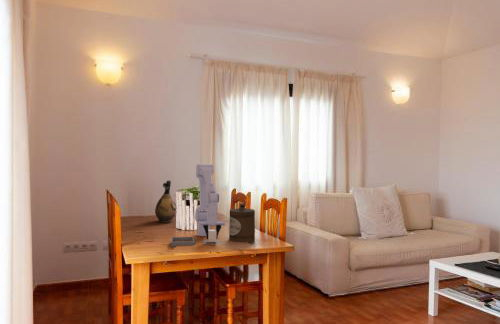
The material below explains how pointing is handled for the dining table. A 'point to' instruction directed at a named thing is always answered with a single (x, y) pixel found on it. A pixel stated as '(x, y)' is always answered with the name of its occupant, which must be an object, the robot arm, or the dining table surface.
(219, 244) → the stud block
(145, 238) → the dining table surface
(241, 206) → the wooden container
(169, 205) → the ceramic jug
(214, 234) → the block
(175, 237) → the bin
